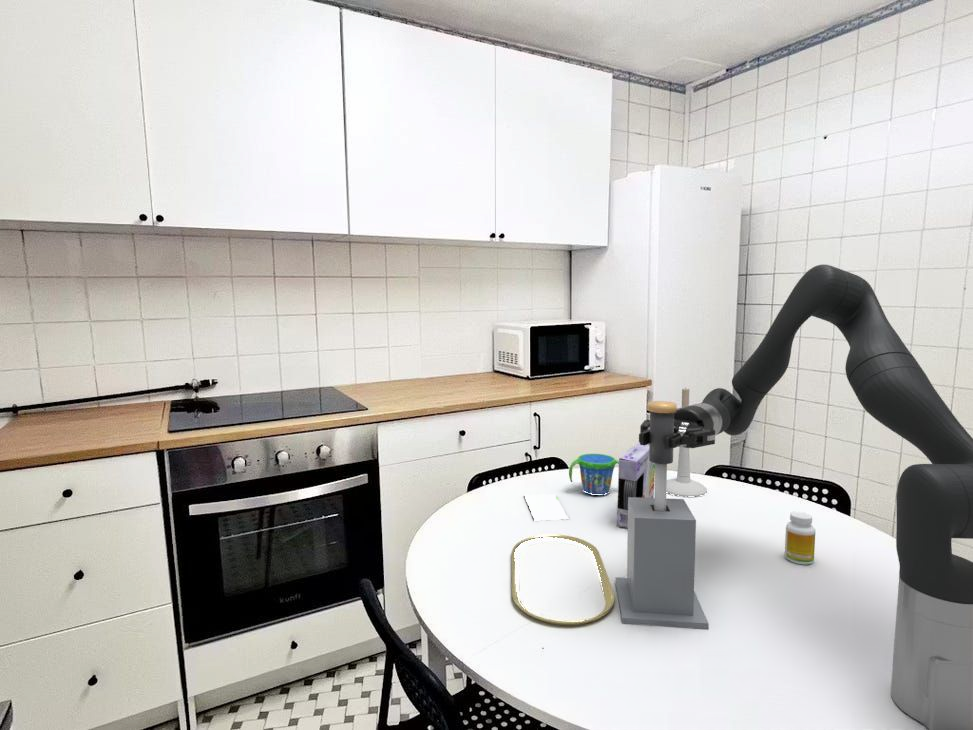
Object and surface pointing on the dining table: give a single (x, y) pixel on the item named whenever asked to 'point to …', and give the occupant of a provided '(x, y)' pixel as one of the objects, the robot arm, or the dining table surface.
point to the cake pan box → (634, 479)
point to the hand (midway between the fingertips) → (654, 441)
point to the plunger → (660, 446)
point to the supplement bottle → (800, 539)
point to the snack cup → (595, 472)
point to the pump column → (660, 567)
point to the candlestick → (684, 469)
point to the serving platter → (604, 578)
